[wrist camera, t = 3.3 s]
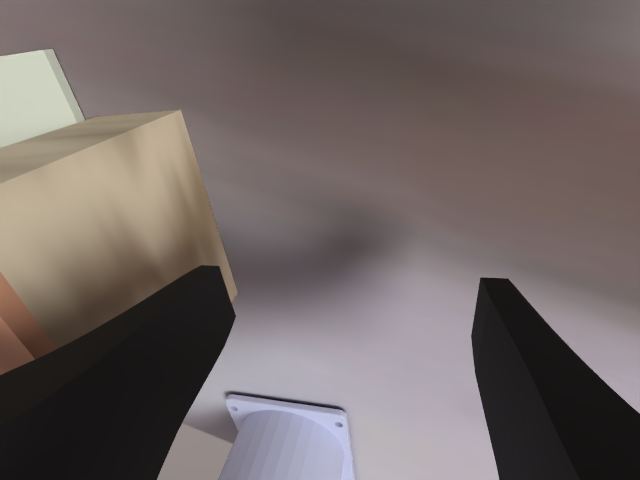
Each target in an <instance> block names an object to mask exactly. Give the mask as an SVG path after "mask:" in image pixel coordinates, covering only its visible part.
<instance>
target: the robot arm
mask: <svg viewBox="0 0 640 480" xmlns="http://www.w3.org/2000/svg"><path fill="white" fill-rule="evenodd" d="M235 317H236V315H235V312H234V309H233V306H232V303H231V300H230V297H229V294H228V291H227V288H226V285H225V282H224V279H223V276H222V273H221V270H220V267H219V266H209V265H201V266H199V267H197V268H195V269H193V270H191V271H189V272H188V273H186V274H184V275H183V276H181V277H179V278H178V279H176V280H175V281H173V282H171V283H170V284H168V285H167V286H165V287H163V288H162V289H160V290H159V291H157V292H155V293H154V294H152V295H151V296H149V297H147V298H146V299H144V300H143V301H141V302H139V303H138V304H136V305H135V306H133V307H131V308H130V309H128V310H126V311H125V312H123V313H121V314H120V315H118V316H116V317H114V318H113V319H111V320H109V321H108V322H106V323H104V324H103V325H101V326H99V327H97V328H96V329H94V330H92V331H90V332H89V333H87V334H85V335H83V336H81V337H79V338H77V339H76V340H74V341H72V342H70V343H68V344H66V345H64V346H62V347H60V348H58V349H56V350H54V351H52V352H50V353H48V354H46V355H44V356H42V357H40V358H37V359H35V360H33V361H31V362H28V363H26V364H24V365H22V366H19V367H17V368H15V369H13V370H10V371H8V372H6V373H4V374H1V375H0V480H157V477H158V475H159V473H160V470H161V468H162V465H163V463H164V461H165V458H166V456H167V454H168V451H169V450H170V447H171V445H172V443H173V441H174V438H175V436H176V434H177V432H178V430H179V428H180V426H181V424H182V422H183V420H184V418H185V416H186V414H187V413H188V411H189V409H190V407H191V405H192V404H193V402H194V400H195V398H196V397H197V395H198V393H199V391H200V389H201V388H202V386H203V384H204V382H205V381H206V379H207V377H208V375H209V373H210V372H211V370H212V368H213V366H214V364H215V363H216V361H217V359H218V357H219V355H220V353H221V351H222V350H223V348H224V346H225V343H226V341H227V338H228V336H229V333H230V331H231V328H232V325H233V323H234V320H235ZM471 338H472V348H473V357H474V366H475V374H476V379H477V383H478V388H479V392H480V396H481V401H482V405H483V409H484V414H485V418H486V422H487V426H488V431H489V435H490V439H491V443H492V448H493V452H494V456H495V461H496V465H497V469H498V474H499V480H640V414H639V413H638V412H637V411H636V410H635V409H633V408H632V407H631V406H630V405H629V404H628V403H627V402H626V401H625V400H623V399H622V398H621V397H620V396H619V395H618V394H617V393H616V392H615V391H614V390H612V389H611V388H610V387H609V386H608V385H607V384H606V383H605V382H604V381H603V380H602V379H601V378H600V377H599V376H598V375H597V374H596V373H595V372H594V371H593V370H592V369H591V368H590V367H589V366H588V365H587V364H586V363H585V362H584V361H583V360H582V359H581V358H580V357H579V356H578V355H577V354H576V353H575V352H574V351H573V350H572V349H571V348H570V347H569V346H568V345H567V344H566V343H565V342H564V341H563V340H562V339H561V338H560V337H559V336H558V334H557V333H556V332H555V331H554V330H553V329H552V328H551V327H550V326H549V325H548V324H547V323H546V321H545V320H544V319H543V318H542V317H541V316H540V315H539V314H538V312H537V311H536V310H535V309H534V308H533V307H532V306H531V304H530V303H529V302H528V301H527V300H526V299H525V298H524V296H523V295H522V294H521V293H520V292H519V291H518V289H517V288H516V287H515V286H514V285H513V284H512V282H511V281H510V280H509V279H503V278H480V284H479V290H478V297H477V303H476V310H475V316H474V322H473V329H472V335H471ZM225 402H226V405H227V407H228V409H229V412H230V414H231V417H232V419H233V421H234V424H235V426H236V428H237V431H238V434H237V437H236V439H235V441H234V444H233V446H232V448H231V451H230V453H229V456H228V458H227V460H226V463H225V465H224V468H223V470H222V473H221V475H220V477H219V479H218V480H356V478H355V471H354V463H353V456H352V448H351V441H350V433H349V426H348V418H347V414H346V413H345V412H344V411H342V410H339V409H332V408H325V407H318V406H311V405H304V404H297V403H290V402H283V401H276V400H269V399H262V398H255V397H248V396H241V395H234V394H230V395H228V396H227V398H226V400H225Z"/></svg>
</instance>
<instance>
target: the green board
mask: <svg viewBox="0 0 640 480" xmlns="http://www.w3.org/2000/svg"><path fill="white" fill-rule="evenodd" d="M82 121H85V119H84V117H83V115H82V112H81V110H80V108H79V106H78V104H77V101H76V99H75V97H74V95H73V93H72V90H71V88H70V86H69V84H68V82H67V80H66V77H65V75H64V73H63V71H62V69H61V66H60V64H59V62H58V60H57V58H56V55H55V53H54V51H53V49H48V50H40V51H33V52H27V53H20V54H14V55H7V56H1V57H0V148H1V147H4V146H7V145H11V144H14V143H17V142H20V141H23V140H26V139H29V138H32V137H35V136H38V135H41V134H45V133H48V132H51V131H54V130H57V129H60V128H63V127H66V126H69V125H72V124H75V123H78V122H82Z"/></svg>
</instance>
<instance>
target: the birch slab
mask: <svg viewBox="0 0 640 480" xmlns="http://www.w3.org/2000/svg"><path fill="white" fill-rule="evenodd" d="M201 265H209V266H219V267H220V270H221V273H222V276H223V279H224V282H225V285H226V288H227V291H228V294H229V297H230V300H231V303H232V302H233V300H234V298H235V297H236V295H237V294H238V292H237V289H236V285H235V282H234V279H233V276H232V273H231V270H230V266H229V263H228V260H227V257H226V254H225V250H224V247H223V244H222V241H221V238H220V234H219V231H218V228H217V225H216V222H215V218H214V215H213V212H212V209H211V206H210V202H209V199H208V196H207V193H206V190H205V186H204V183H203V180H202V177H201V174H200V171H199V167H198V164H197V161H196V158H195V155H194V151H193V148H192V145H191V142H190V139H189V135H188V132H187V129H186V126H185V123H184V119H183V116H182V113H181V110H172V111H160V112H149V113H137V114H126V115H114V116H103V117H94V118H91V119H88V120H85V121H82V122H78V123H75V124H72V125H69V126H66V127H63V128H60V129H57V130H54V131H51V132H48V133H45V134H41V135H38V136H35V137H32V138H29V139H26V140H23V141H20V142H17V143H14V144H11V145H7V146H4V147H1V148H0V375H1V374H4V373H6V372H8V371H10V370H13V369H15V368H17V367H19V366H22V365H24V364H26V363H28V362H31V361H33V360H35V359H37V358H40V357H42V356H44V355H46V354H48V353H50V352H52V351H54V350H56V349H58V348H60V347H62V346H64V345H66V344H68V343H70V342H72V341H74V340H76V339H77V338H79V337H81V336H83V335H85V334H87V333H89V332H90V331H92V330H94V329H96V328H97V327H99V326H101V325H103V324H104V323H106V322H108V321H109V320H111V319H113V318H114V317H116V316H118V315H120V314H121V313H123V312H125V311H126V310H128V309H130V308H131V307H133V306H135V305H136V304H138V303H139V302H141V301H143V300H144V299H146V298H147V297H149V296H151V295H152V294H154V293H155V292H157V291H159V290H160V289H162V288H163V287H165V286H167V285H168V284H170V283H171V282H173V281H175V280H176V279H178V278H179V277H181V276H183V275H184V274H186V273H188V272H189V271H191V270H193V269H195V268H197V267H199V266H201Z"/></svg>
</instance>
